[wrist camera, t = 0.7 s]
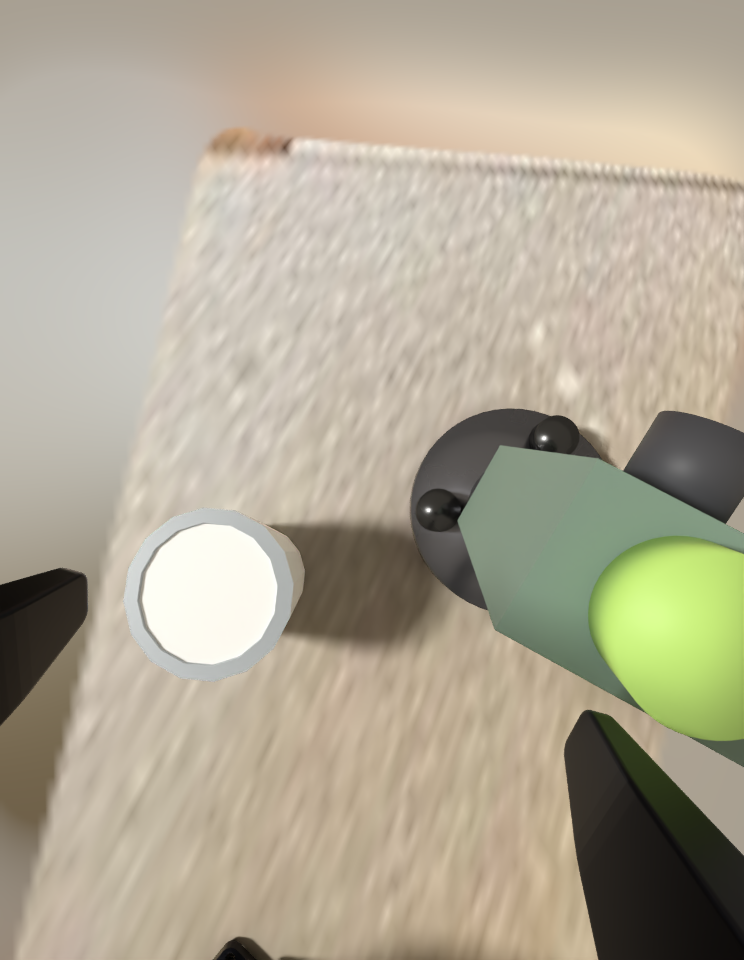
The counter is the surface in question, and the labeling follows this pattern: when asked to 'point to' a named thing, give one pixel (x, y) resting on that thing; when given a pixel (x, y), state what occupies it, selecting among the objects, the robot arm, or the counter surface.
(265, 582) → the white cup
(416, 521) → the base
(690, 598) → the dome-topped green pillar
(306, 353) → the counter surface
